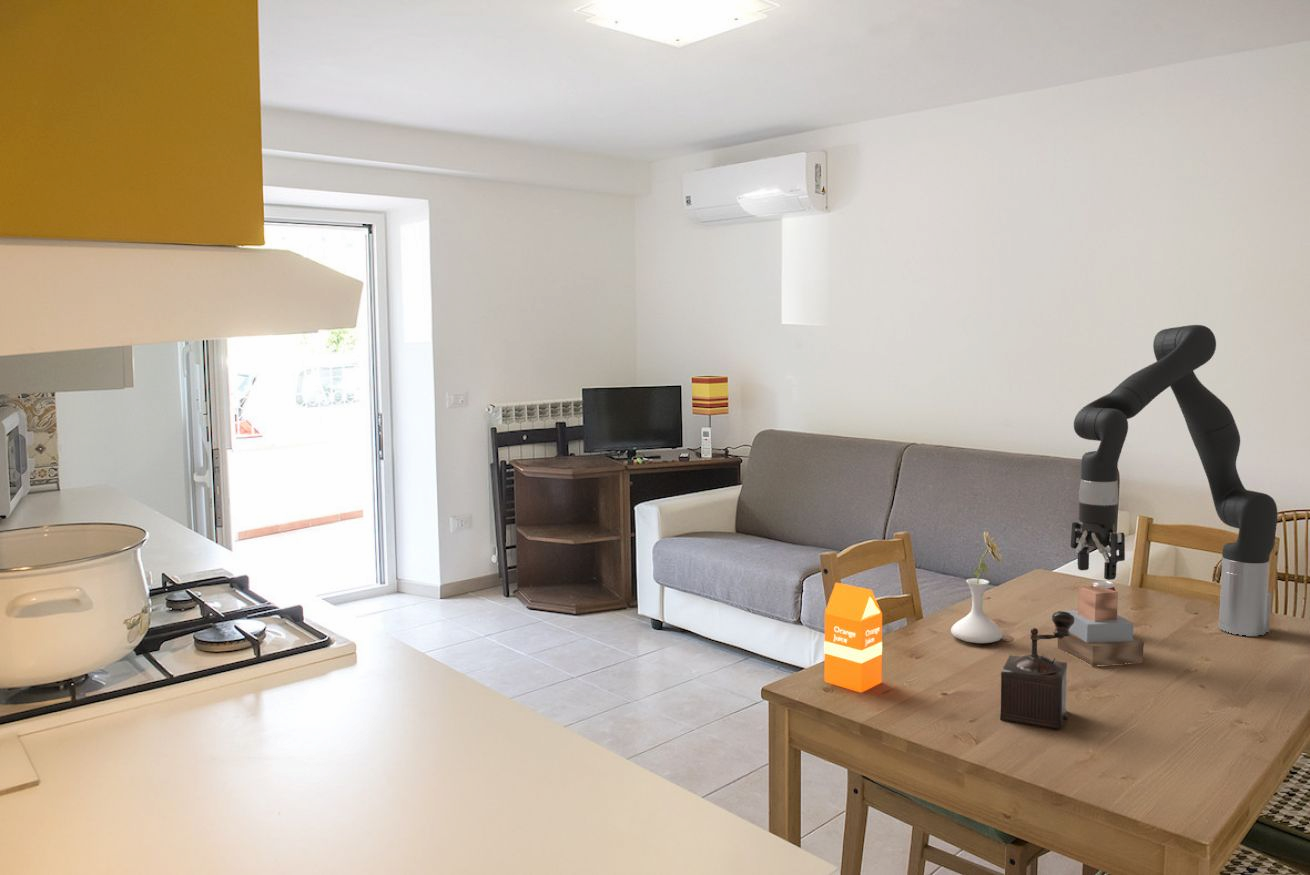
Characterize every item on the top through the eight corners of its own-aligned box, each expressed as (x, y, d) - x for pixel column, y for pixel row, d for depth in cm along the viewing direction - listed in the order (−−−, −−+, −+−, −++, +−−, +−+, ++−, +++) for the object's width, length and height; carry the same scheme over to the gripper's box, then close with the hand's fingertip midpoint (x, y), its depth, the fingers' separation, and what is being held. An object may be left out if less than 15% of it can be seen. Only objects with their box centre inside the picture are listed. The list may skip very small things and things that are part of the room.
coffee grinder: (1064, 732, 162) (1067, 633, 160) (998, 720, 167) (1000, 624, 165) (1073, 701, 175) (1076, 610, 173) (1011, 691, 181) (1014, 602, 179)
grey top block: (1107, 626, 205) (1108, 609, 205) (1132, 641, 195) (1133, 623, 195) (1063, 628, 205) (1064, 610, 204) (1086, 642, 195) (1087, 624, 194)
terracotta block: (1099, 612, 203) (1100, 585, 202) (1117, 619, 197) (1118, 592, 197) (1077, 614, 202) (1078, 587, 201) (1094, 621, 196) (1095, 593, 196)
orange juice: (845, 671, 193) (845, 578, 191) (882, 682, 186) (883, 586, 184) (823, 681, 187) (824, 586, 185) (860, 693, 181) (861, 594, 179)
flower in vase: (986, 651, 204) (989, 540, 201) (941, 639, 212) (942, 533, 210) (1015, 638, 212) (1018, 532, 210) (970, 627, 221) (972, 525, 218)
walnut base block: (1105, 646, 207) (1106, 624, 207) (1142, 664, 195) (1143, 641, 195) (1057, 650, 205) (1058, 628, 204) (1092, 669, 193) (1093, 646, 193)
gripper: (1137, 505, 191) (1134, 581, 192) (1091, 494, 205) (1089, 565, 206) (1105, 507, 189) (1103, 584, 191) (1061, 496, 203) (1059, 567, 205)
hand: (1096, 574), depth 199 cm, fingers open, 8 cm apart
